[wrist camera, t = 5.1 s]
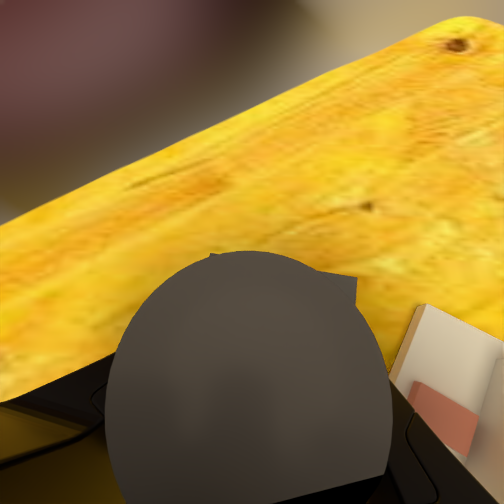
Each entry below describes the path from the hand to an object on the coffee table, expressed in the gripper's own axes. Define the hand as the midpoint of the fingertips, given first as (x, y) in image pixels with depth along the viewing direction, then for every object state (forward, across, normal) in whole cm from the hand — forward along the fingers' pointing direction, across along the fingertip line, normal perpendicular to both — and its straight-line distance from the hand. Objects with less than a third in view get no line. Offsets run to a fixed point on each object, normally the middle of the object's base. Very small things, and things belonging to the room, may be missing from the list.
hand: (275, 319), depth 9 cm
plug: (+4, 0, +6) cm, 7 cm away
